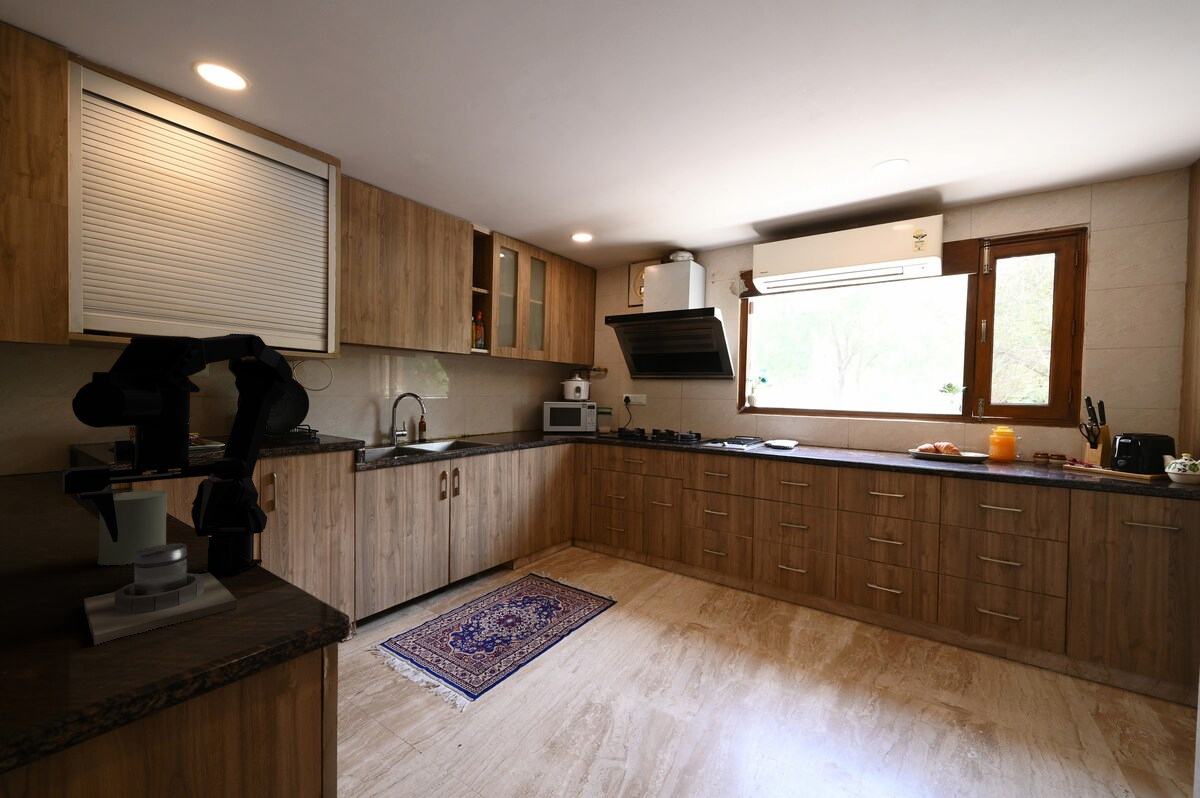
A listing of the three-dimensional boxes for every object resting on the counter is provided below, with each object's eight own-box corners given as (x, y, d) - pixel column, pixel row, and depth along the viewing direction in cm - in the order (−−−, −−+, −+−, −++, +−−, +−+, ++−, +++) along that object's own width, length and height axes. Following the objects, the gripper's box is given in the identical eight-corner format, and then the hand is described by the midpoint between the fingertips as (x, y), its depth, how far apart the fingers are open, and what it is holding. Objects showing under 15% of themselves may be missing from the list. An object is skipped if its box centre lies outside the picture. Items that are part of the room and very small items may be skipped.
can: (118, 552, 92) (119, 489, 92) (177, 548, 95) (178, 487, 95) (83, 568, 83) (84, 498, 84) (149, 563, 86) (150, 496, 86)
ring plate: (84, 607, 68) (84, 584, 68) (209, 579, 79) (209, 560, 79) (94, 645, 58) (94, 618, 58) (236, 608, 69) (237, 585, 69)
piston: (159, 590, 71) (160, 543, 71) (197, 590, 71) (197, 543, 71) (122, 607, 66) (122, 555, 66) (163, 607, 66) (163, 555, 66)
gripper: (228, 420, 81) (227, 514, 81) (61, 423, 66) (59, 537, 66) (248, 423, 74) (246, 526, 73) (66, 427, 59) (63, 554, 59)
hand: (160, 534), depth 68 cm, fingers open, 9 cm apart
